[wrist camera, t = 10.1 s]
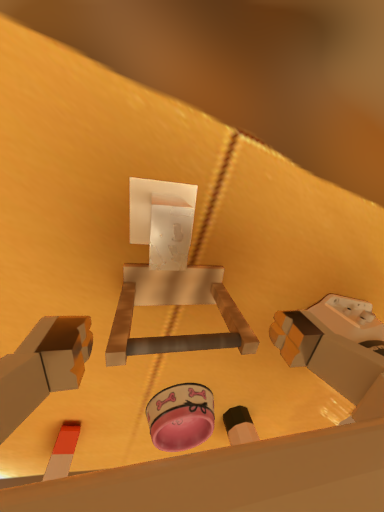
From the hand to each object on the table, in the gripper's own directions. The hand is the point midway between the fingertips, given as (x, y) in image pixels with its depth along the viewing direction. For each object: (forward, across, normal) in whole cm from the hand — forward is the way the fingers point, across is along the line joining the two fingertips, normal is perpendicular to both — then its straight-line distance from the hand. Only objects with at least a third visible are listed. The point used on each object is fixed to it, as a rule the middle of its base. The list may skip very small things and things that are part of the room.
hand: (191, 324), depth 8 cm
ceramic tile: (+25, 0, 0) cm, 25 cm away
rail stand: (+25, -3, +13) cm, 28 cm away
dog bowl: (+25, -8, +52) cm, 58 cm away
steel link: (+24, 0, 0) cm, 24 cm away
